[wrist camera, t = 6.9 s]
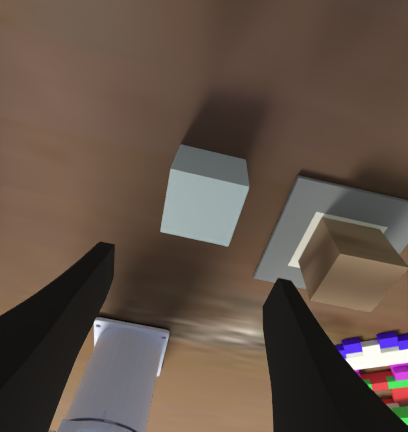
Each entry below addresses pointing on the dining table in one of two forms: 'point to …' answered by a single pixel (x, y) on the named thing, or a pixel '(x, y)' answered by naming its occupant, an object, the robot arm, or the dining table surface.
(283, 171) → the dining table surface
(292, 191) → the grey flat square plate
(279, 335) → the robot arm
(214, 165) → the pale grey cube
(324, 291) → the walnut block
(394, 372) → the building block set
